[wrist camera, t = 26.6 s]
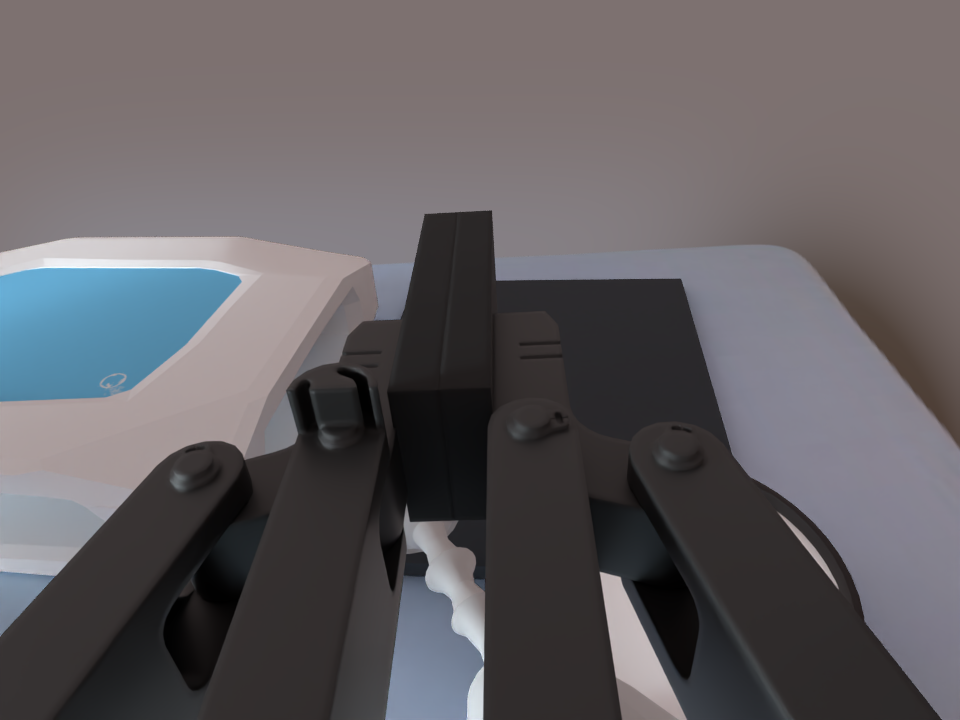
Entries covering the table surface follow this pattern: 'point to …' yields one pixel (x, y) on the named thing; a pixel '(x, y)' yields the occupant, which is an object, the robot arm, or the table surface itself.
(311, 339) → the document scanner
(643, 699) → the chalice
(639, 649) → the magnifying glass
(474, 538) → the mat
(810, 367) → the table surface
